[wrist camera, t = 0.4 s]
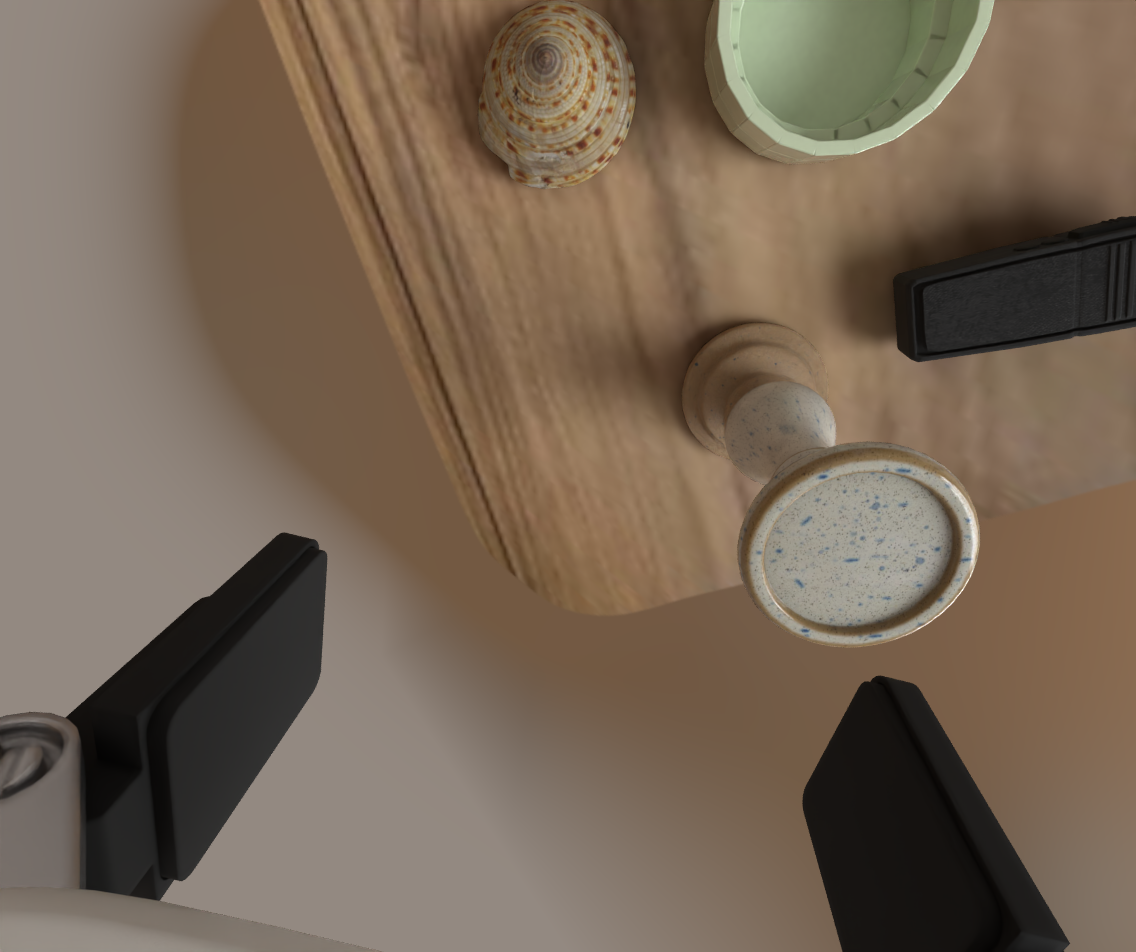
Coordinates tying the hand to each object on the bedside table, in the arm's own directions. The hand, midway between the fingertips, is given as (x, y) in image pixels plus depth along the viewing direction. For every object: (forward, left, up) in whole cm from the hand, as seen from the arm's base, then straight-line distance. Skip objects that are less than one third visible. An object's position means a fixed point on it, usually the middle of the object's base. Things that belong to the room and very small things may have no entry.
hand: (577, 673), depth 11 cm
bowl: (-17, -6, -30) cm, 35 cm away
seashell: (-5, -12, -30) cm, 33 cm away
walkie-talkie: (-23, +12, -30) cm, 40 cm away
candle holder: (-5, +8, -30) cm, 32 cm away
